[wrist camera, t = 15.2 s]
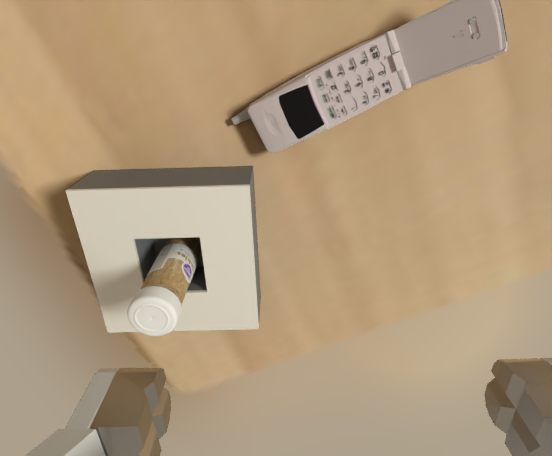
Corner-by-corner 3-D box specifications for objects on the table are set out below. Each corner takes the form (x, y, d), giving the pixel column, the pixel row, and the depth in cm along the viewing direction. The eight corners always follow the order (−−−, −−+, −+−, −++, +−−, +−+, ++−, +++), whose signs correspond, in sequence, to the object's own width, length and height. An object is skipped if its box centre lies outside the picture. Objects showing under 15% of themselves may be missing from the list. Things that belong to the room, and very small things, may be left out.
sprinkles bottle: (210, 249, 46) (187, 324, 34) (182, 267, 47) (149, 345, 35) (186, 221, 44) (153, 289, 32) (157, 240, 45) (114, 313, 33)
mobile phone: (512, 51, 32) (252, 176, 37) (478, 50, 37) (255, 160, 42) (496, -25, 29) (221, 120, 34) (463, -14, 35) (228, 110, 40)
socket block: (93, 170, 42) (65, 190, 37) (252, 166, 42) (249, 185, 36) (126, 299, 50) (107, 332, 45) (260, 295, 50) (258, 328, 44)
